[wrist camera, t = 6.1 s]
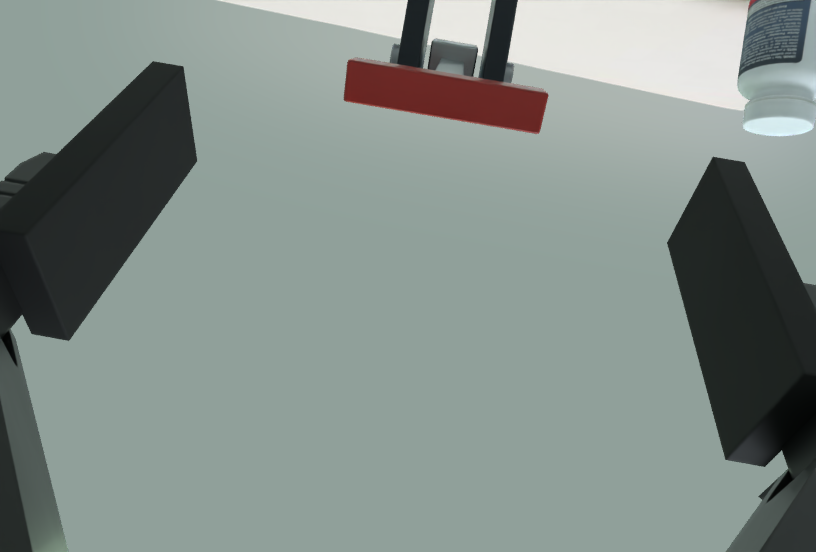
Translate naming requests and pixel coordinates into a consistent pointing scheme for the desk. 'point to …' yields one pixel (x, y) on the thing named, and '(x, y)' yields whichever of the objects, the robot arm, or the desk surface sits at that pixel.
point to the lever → (446, 90)
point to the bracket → (494, 46)
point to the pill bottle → (779, 67)
